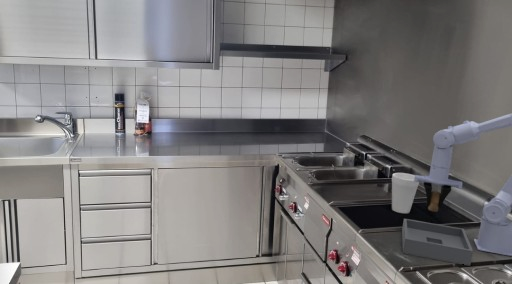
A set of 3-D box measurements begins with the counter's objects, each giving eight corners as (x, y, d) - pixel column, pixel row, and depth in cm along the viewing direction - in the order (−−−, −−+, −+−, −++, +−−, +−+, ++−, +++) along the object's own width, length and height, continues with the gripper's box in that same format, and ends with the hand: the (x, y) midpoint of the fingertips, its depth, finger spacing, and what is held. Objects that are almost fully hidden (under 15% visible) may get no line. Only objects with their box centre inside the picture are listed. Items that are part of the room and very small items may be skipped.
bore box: (461, 242, 142) (463, 228, 141) (470, 266, 126) (473, 251, 125) (401, 231, 146) (403, 218, 145) (402, 253, 130) (405, 238, 129)
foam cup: (407, 206, 172) (412, 173, 169) (418, 215, 163) (424, 180, 160) (383, 205, 170) (388, 172, 168) (394, 214, 161) (399, 179, 159)
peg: (437, 209, 150) (440, 192, 148) (438, 212, 147) (441, 194, 146) (427, 207, 151) (430, 190, 149) (428, 210, 148) (431, 193, 146)
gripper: (462, 166, 147) (455, 205, 150) (416, 160, 151) (410, 198, 154) (466, 171, 141) (458, 212, 144) (417, 164, 145) (411, 204, 147)
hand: (433, 205), depth 148 cm, fingers closed on peg, 3 cm apart
